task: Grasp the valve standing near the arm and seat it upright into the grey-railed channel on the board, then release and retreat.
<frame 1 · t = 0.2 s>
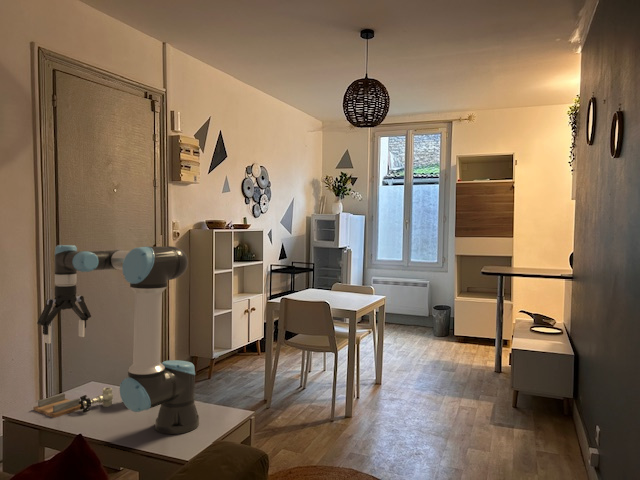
hand: (65, 339, 188), 27 cm above the table, fingers open, 13 cm apart
valve: (98, 408, 191), on the table
coffee can: (144, 401, 199), on the table
board: (59, 409, 188), on the table
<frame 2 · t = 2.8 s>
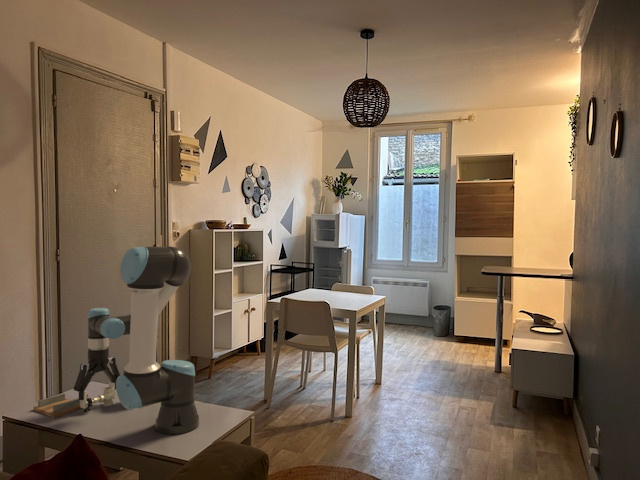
hand: (97, 403, 191), 2 cm above the table, fingers closed on valve, 11 cm apart
valve: (99, 408, 191), on the table, touching gripper
everything else where it was.
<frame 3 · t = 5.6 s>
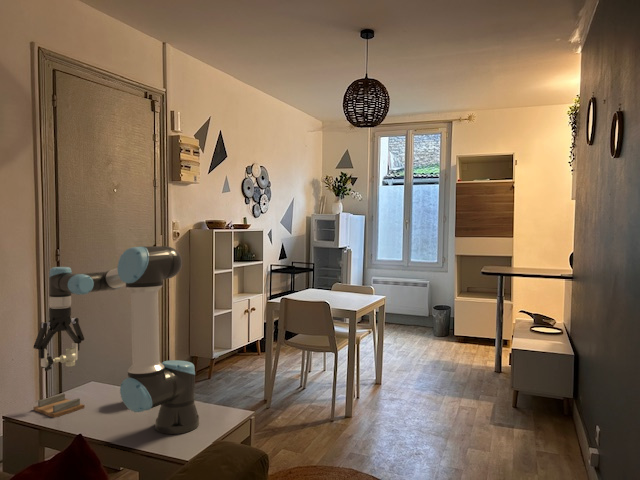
hand: (59, 363, 188), 18 cm above the table, fingers closed on valve, 11 cm apart
valve: (60, 368, 188), point 16 cm above the table, touching gripper
everything else where it was.
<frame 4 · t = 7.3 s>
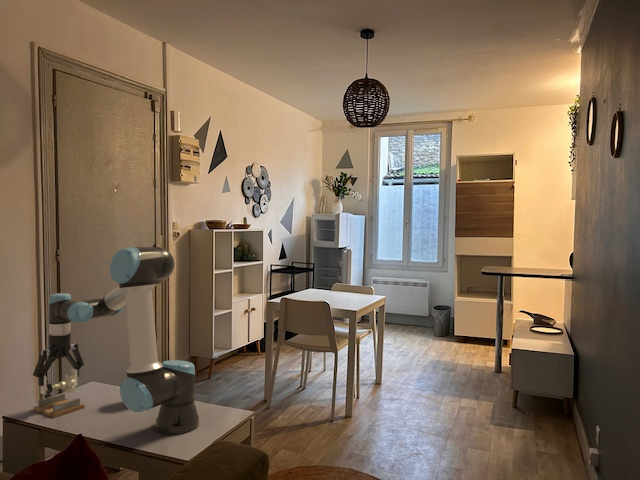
hand: (59, 389, 188), 8 cm above the table, fingers closed on valve, 11 cm apart
valve: (60, 394, 188), point 6 cm above the table, touching gripper
everything else where it was.
when the fingers open (4 cm above the table, at t = 8.7 s): valve drops 1 cm, resting on board.
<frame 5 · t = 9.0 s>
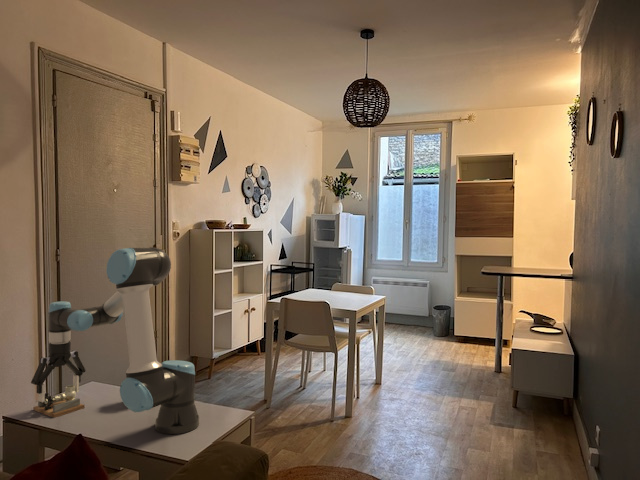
hand: (59, 396, 188), 5 cm above the table, fingers open, 13 cm apart
valve: (60, 406, 188), point 1 cm above the table, touching board
everything else where it was.
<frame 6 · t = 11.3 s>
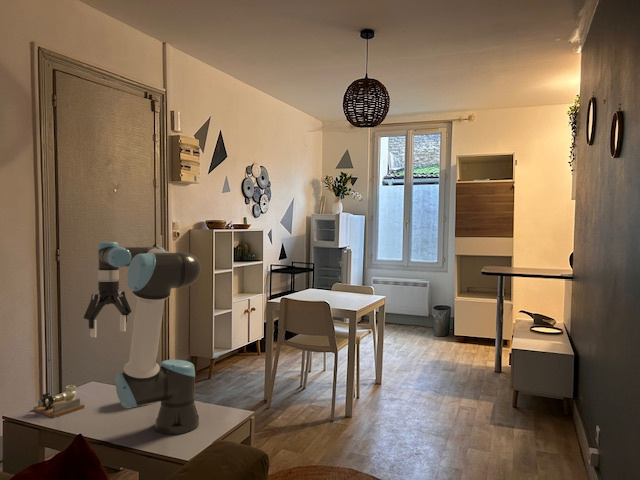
hand: (108, 334, 193), 28 cm above the table, fingers open, 13 cm apart
nothing on the table moved.
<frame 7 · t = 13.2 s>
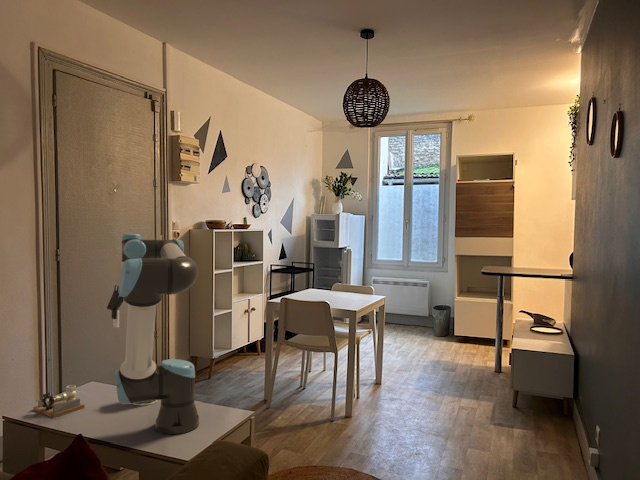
hand: (130, 324, 197), 32 cm above the table, fingers open, 13 cm apart
nothing on the table moved.
at the end: valve inside the target area on the board (0.8 cm from its centre), point 1.0 cm above the board's base; the gripper is holding nothing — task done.
